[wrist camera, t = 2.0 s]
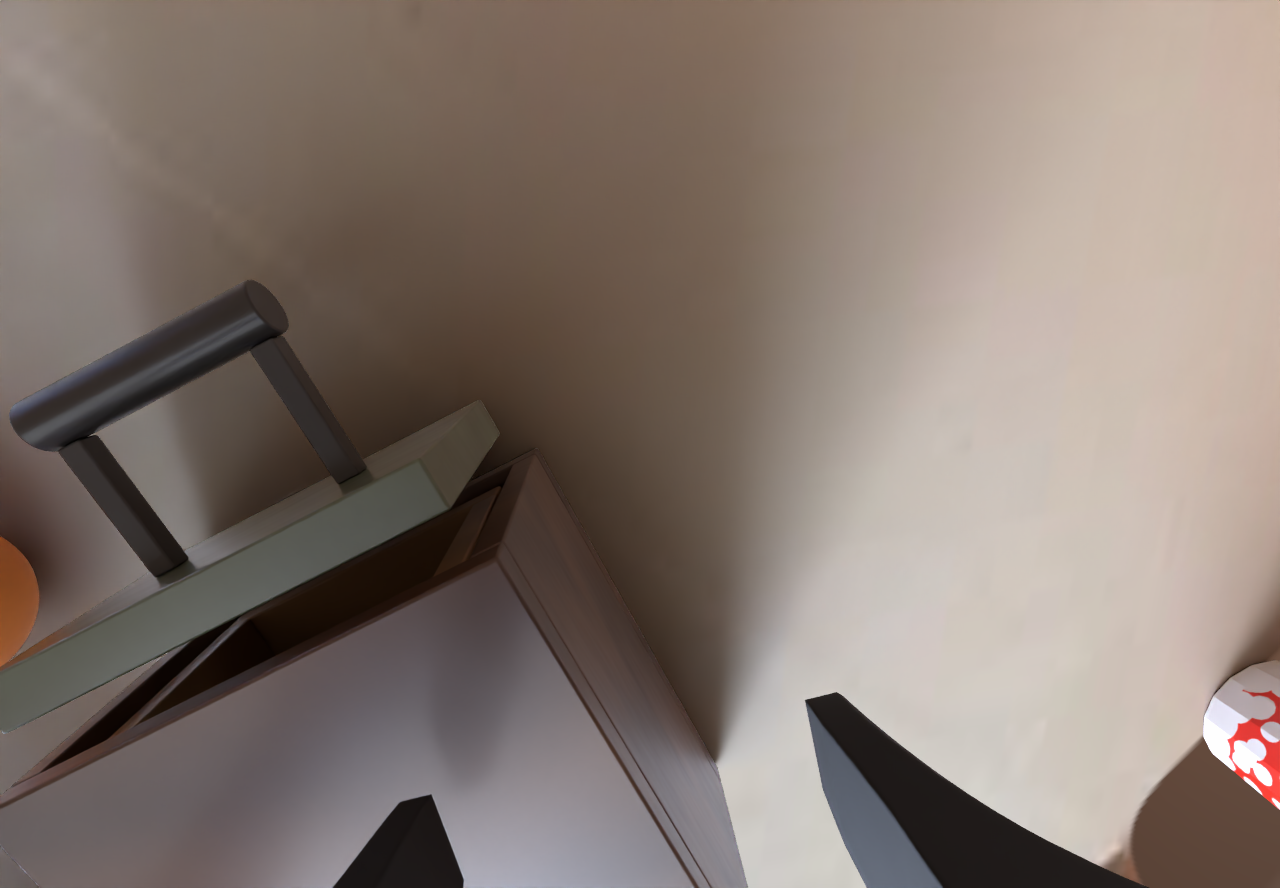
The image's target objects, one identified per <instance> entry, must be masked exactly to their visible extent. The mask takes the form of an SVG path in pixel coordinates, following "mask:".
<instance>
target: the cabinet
mask: <svg viewBox="0 0 1280 888" xmlns="http://www.w3.org/2000/svg"><path fill="white" fill-rule="evenodd" d="M499 486H500V487H501V488H502V490H501V492H500V494H499V496H498V498H497V501H496V503H495V505H494V507H493V509H492V511H491V513H490V516H489V518H488V520H487V522H486V524H485V526H484V528H483V531H482V533H481V535H480V537H479V539H478V541H477V543H476V546H475V548H474V550H473V552H472V554H471V556H470V559H468V560H466V561H464V562H462V563H460V564H458V565H456V566H454V567H452V568H450V569H448V570H446V571H444V572H442V573H440V574H438V575H436V576H434V577H432V578H430V579H428V580H426V581H424V582H422V583H420V584H418V585H416V586H414V587H412V588H410V589H408V590H406V591H404V592H402V593H400V594H398V595H396V596H394V597H392V598H390V599H388V600H386V601H384V602H382V603H380V604H378V605H376V606H374V607H372V608H370V609H368V610H366V611H364V612H362V613H360V614H358V615H356V616H354V617H352V618H350V619H348V620H346V621H344V622H342V623H340V624H338V625H336V626H334V627H332V628H330V629H328V630H326V631H324V632H322V633H320V634H318V635H316V636H314V637H312V638H310V639H308V640H306V641H304V642H302V643H300V644H298V645H296V646H294V647H292V648H290V649H288V650H286V651H284V652H282V653H280V654H278V655H276V656H274V657H272V658H270V659H268V660H266V661H264V662H262V663H260V664H258V665H256V666H254V667H252V668H250V669H248V670H246V671H244V672H242V673H240V674H238V675H236V676H234V677H232V678H230V679H228V680H226V681H224V682H222V683H220V684H218V685H216V686H214V687H212V688H210V689H208V690H206V691H204V692H202V693H200V694H198V695H196V696H194V697H192V698H190V699H188V700H186V701H184V702H182V703H180V704H178V705H176V706H174V707H172V708H170V709H168V710H166V711H164V712H162V713H160V714H158V715H156V716H154V717H152V718H150V719H148V720H146V721H144V722H142V723H140V724H138V725H136V726H134V727H132V728H130V729H128V730H126V731H124V732H122V733H120V734H118V735H116V736H114V737H112V738H110V737H111V736H112V735H113V734H114V733H115V732H116V731H117V730H118V729H119V728H120V727H121V726H123V725H124V724H125V723H126V722H127V721H128V720H129V719H130V718H131V717H132V716H133V715H134V714H136V713H137V712H138V711H139V710H140V709H141V708H142V707H143V706H144V705H145V704H146V703H147V702H149V701H150V700H151V699H152V698H153V697H154V696H155V695H156V694H157V693H158V692H159V691H160V690H162V689H163V688H164V687H165V686H166V685H167V684H168V683H169V682H170V681H171V680H172V679H173V678H174V677H176V676H177V675H178V674H179V673H180V672H181V671H182V670H183V669H184V668H185V667H186V666H187V665H189V664H190V663H191V662H192V661H193V660H194V659H195V658H196V657H197V656H198V655H199V654H200V653H202V652H203V651H204V650H205V649H206V648H207V647H208V646H209V645H210V644H211V643H212V642H213V641H215V640H216V639H217V638H218V637H219V636H220V635H221V634H222V633H223V632H224V631H225V630H226V629H228V628H229V627H230V626H231V625H232V624H233V623H234V622H235V621H236V620H238V619H239V618H240V617H241V616H242V615H241V616H239V617H237V618H235V619H233V620H231V621H229V622H227V623H225V624H223V625H221V626H219V627H217V628H215V629H213V630H211V631H209V632H207V633H205V634H203V635H201V636H199V637H197V638H195V639H193V640H191V641H189V642H187V643H185V644H183V645H181V646H179V647H177V648H176V649H174V650H172V651H170V652H168V653H167V654H166V655H164V656H163V657H162V658H161V659H160V660H159V661H157V662H156V663H155V664H154V665H153V666H152V667H150V668H149V669H148V670H147V671H146V672H145V673H143V674H142V675H141V676H140V677H139V678H138V679H136V680H135V681H134V682H133V683H132V684H130V685H129V686H128V687H127V688H126V689H125V690H123V691H122V692H121V693H120V694H119V695H118V696H116V697H115V698H114V699H113V700H112V701H111V702H109V703H108V704H107V705H106V706H105V707H103V708H102V709H101V710H100V711H99V712H98V713H96V714H95V715H94V716H93V717H92V718H91V719H89V720H88V721H87V722H86V723H85V724H84V725H82V726H81V727H80V728H79V729H78V730H76V731H75V732H74V733H73V734H72V735H71V736H69V737H68V738H67V739H66V740H65V741H64V742H62V743H61V744H60V745H59V746H58V747H57V748H55V749H54V750H53V751H52V752H51V753H49V754H48V755H47V756H46V757H45V758H44V759H42V760H41V761H40V762H39V763H38V764H37V765H35V766H34V767H33V768H32V769H31V770H30V771H28V772H27V773H26V774H25V775H24V776H22V777H21V778H20V779H19V780H18V781H17V782H15V783H14V784H13V785H12V786H11V788H10V789H8V790H6V791H5V792H4V793H3V794H2V795H1V796H0V847H1V848H2V849H3V850H4V851H5V852H6V853H7V854H8V855H9V856H10V857H11V858H12V859H13V860H14V861H15V862H16V863H17V864H18V866H19V867H20V868H21V869H22V870H23V871H24V872H25V873H26V874H27V875H28V876H29V877H30V878H31V879H32V880H33V881H34V882H35V883H36V884H37V885H38V887H39V888H333V887H334V885H335V884H336V883H337V881H338V880H339V879H340V878H341V876H342V875H343V874H344V873H345V871H346V870H347V869H348V867H349V866H350V865H351V864H352V862H353V861H354V860H355V858H356V857H357V856H358V854H359V853H360V852H361V851H362V849H363V848H364V847H365V845H366V844H367V843H368V841H369V840H370V839H371V838H372V836H373V835H374V834H375V832H376V831H377V830H378V828H379V827H380V826H381V825H382V823H383V822H384V821H385V819H386V818H387V817H388V816H389V814H390V813H391V812H392V811H393V810H394V808H395V807H396V806H397V805H398V804H399V802H402V801H406V800H410V799H414V798H418V797H422V796H426V795H429V794H432V797H433V800H434V802H435V805H436V807H437V810H438V813H439V815H440V818H441V821H442V823H443V826H444V828H445V831H446V834H447V836H448V839H449V842H450V844H451V847H452V849H453V852H454V855H455V857H456V860H457V863H458V865H459V868H460V871H461V873H462V876H463V878H464V886H463V888H748V886H747V882H746V878H745V874H744V870H743V866H742V862H741V858H740V854H739V850H738V846H737V842H736V838H735V835H734V831H733V827H732V823H731V819H730V815H729V811H728V807H727V803H726V799H725V795H724V791H723V787H722V784H721V780H720V776H719V772H718V768H717V766H716V764H715V763H714V761H713V759H712V757H711V756H710V754H709V752H708V750H707V748H706V747H705V745H704V743H703V741H702V739H701V738H700V736H699V734H698V732H697V731H696V729H695V727H694V725H693V723H692V722H691V720H690V718H689V716H688V715H687V713H686V711H685V709H684V707H683V706H682V704H681V702H680V700H679V699H678V697H677V695H676V693H675V691H674V690H673V688H672V686H671V684H670V682H669V681H668V679H667V677H666V675H665V674H664V672H663V670H662V668H661V666H660V665H659V663H658V661H657V659H656V658H655V656H654V654H653V652H652V650H651V649H650V647H649V645H648V643H647V642H646V640H645V638H644V636H643V634H642V633H641V631H640V629H639V627H638V625H637V624H636V622H635V620H634V618H633V617H632V615H631V613H630V611H629V609H628V608H627V606H626V604H625V602H624V601H623V599H622V597H621V595H620V593H619V592H618V590H617V588H616V586H615V585H614V583H613V581H612V579H611V577H610V576H609V574H608V572H607V570H606V569H605V567H604V565H603V563H602V561H601V560H600V558H599V556H598V554H597V552H596V551H595V549H594V547H593V545H592V544H591V542H590V540H589V538H588V536H587V535H586V533H585V531H584V529H583V528H582V526H581V524H580V522H579V520H578V519H577V517H576V515H575V513H574V512H573V510H572V508H571V506H570V504H569V503H568V501H567V499H566V497H565V495H564V494H563V492H562V490H561V488H560V487H559V485H558V483H557V481H556V479H555V478H554V476H553V474H552V472H551V471H550V469H549V467H548V465H547V463H546V462H545V460H544V458H543V456H542V455H541V453H540V451H539V449H537V448H536V449H533V450H531V451H529V452H527V453H525V454H523V455H521V456H519V457H518V458H516V459H514V460H512V461H510V462H508V463H506V464H504V465H502V466H500V467H498V468H496V469H494V470H492V471H490V472H488V473H486V474H484V475H482V476H480V477H478V478H476V479H474V480H472V481H470V482H468V483H467V485H466V486H465V488H464V489H463V491H462V492H461V494H460V495H459V497H458V499H457V500H456V502H455V503H454V505H453V506H452V508H451V509H450V510H452V509H454V508H456V507H458V506H460V505H462V504H464V503H466V502H468V501H470V500H472V499H474V498H476V497H478V496H480V495H482V494H484V493H486V492H488V491H490V490H492V489H494V488H496V487H499ZM450 510H449V511H450ZM447 512H448V511H447ZM445 513H446V512H445ZM443 514H444V513H443ZM441 515H442V514H441ZM439 516H440V515H439ZM437 517H438V516H437ZM435 518H436V517H435ZM433 519H434V518H433ZM431 520H432V519H431ZM429 521H430V520H429ZM427 522H428V521H427ZM425 523H426V522H425ZM423 524H424V523H423ZM423 524H421V525H423ZM421 525H419V526H421ZM419 526H417V527H419ZM417 527H415V528H417ZM415 528H413V529H415ZM413 529H411V530H413ZM411 530H409V531H411ZM409 531H407V532H409ZM407 532H405V533H407ZM405 533H403V534H405ZM403 534H401V535H403ZM401 535H399V536H401ZM399 536H397V537H399ZM397 537H395V538H397ZM395 538H393V539H395ZM393 539H391V540H393ZM391 540H389V541H391ZM389 541H387V542H389ZM387 542H385V543H387ZM385 543H383V544H385ZM383 544H382V545H383ZM380 546H381V545H380ZM378 547H379V546H378ZM376 548H377V547H376ZM374 549H375V548H374ZM372 550H373V549H372ZM370 551H371V550H370ZM368 552H369V551H368ZM366 553H367V552H366ZM364 554H365V553H364ZM362 555H363V554H362ZM360 556H361V555H360ZM358 557H359V556H358ZM356 558H357V557H356ZM354 559H355V558H354ZM352 560H353V559H352ZM350 561H351V560H350ZM348 562H349V561H348ZM346 563H347V562H346ZM344 564H345V563H344ZM342 565H343V564H342ZM340 566H341V565H340ZM338 567H339V566H338ZM336 568H337V567H336ZM334 569H335V568H334ZM332 570H333V569H332ZM330 571H331V570H330ZM328 572H329V571H328ZM326 573H327V572H326ZM324 574H325V573H324ZM322 575H323V574H322ZM320 576H321V575H320ZM318 577H319V576H318ZM318 577H316V578H318ZM316 578H314V579H316ZM314 579H312V580H314ZM312 580H310V581H312ZM310 581H308V582H310ZM308 582H306V583H308ZM306 583H304V584H306ZM304 584H302V585H304ZM302 585H300V586H302ZM300 586H298V587H300ZM298 587H296V588H298ZM296 588H294V589H296ZM294 589H292V590H294ZM292 590H290V591H292ZM290 591H288V592H290ZM288 592H286V593H288ZM286 593H284V594H286ZM284 594H282V595H284ZM282 595H280V596H282ZM280 596H279V597H280ZM277 598H278V597H277ZM275 599H276V598H275ZM273 600H274V599H273ZM271 601H272V600H271ZM269 602H270V601H269ZM267 603H268V602H267ZM265 604H266V603H265ZM263 605H264V604H263ZM261 606H262V605H261ZM259 607H260V606H259ZM257 608H258V607H257ZM255 609H256V608H255ZM253 610H254V609H253ZM251 611H252V610H251ZM249 612H250V611H249ZM247 613H248V612H247ZM245 614H246V613H245ZM243 615H244V614H243ZM109 738H110V739H109ZM107 739H108V740H107Z"/></svg>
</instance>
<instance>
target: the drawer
mask: <svg viewBox="0 0 1280 888" xmlns="http://www.w3.org/2000/svg"><path fill="white" fill-rule="evenodd" d="M288 328H289V323H288V318H287V316H286V313H285V311H284V309H283V307H282V306H281V304H280V303H279V301H278V300H277V299H276V297H275V296H274V295H273V294H272V293H271V292H270V291H269V290H268V289H267V288H266V287H265V286H263V285H262V284H261V283H259V282H257V281H254V280H246V281H244V282H242V283H240V284H239V285H237V286H235V287H233V288H231V289H229V290H227V291H225V292H224V293H222V294H220V295H218V296H216V297H214V298H212V299H210V300H209V301H207V302H205V303H203V304H201V305H199V306H197V307H195V308H193V309H192V310H190V311H188V312H186V313H184V314H182V315H180V316H178V317H177V318H175V319H173V320H171V321H169V322H167V323H165V324H163V325H162V326H160V327H158V328H156V329H154V330H152V331H150V332H148V333H147V334H145V335H143V336H141V337H139V338H137V339H135V340H133V341H132V342H130V343H128V344H126V345H124V346H122V347H120V348H118V349H117V350H115V351H113V352H111V353H109V354H107V355H105V356H103V357H102V358H100V359H98V360H96V361H94V362H92V363H90V364H88V365H86V366H85V367H83V368H81V369H79V370H77V371H75V372H73V373H71V374H70V375H68V376H66V377H64V378H62V379H60V380H58V381H56V382H55V383H53V384H51V385H49V386H47V387H45V388H43V389H41V390H40V391H38V392H36V393H34V394H32V395H30V396H28V397H26V398H25V399H23V400H21V401H19V402H17V403H16V404H14V405H13V406H12V408H11V410H10V413H9V419H10V423H11V426H12V427H13V429H14V431H15V432H16V433H17V435H18V436H19V437H20V438H21V439H22V440H24V441H25V442H26V443H28V444H29V445H31V446H33V447H35V448H37V449H40V450H43V451H51V452H53V451H58V452H59V454H60V455H61V457H62V458H63V459H64V461H65V462H66V463H67V464H68V466H69V467H70V468H71V470H72V471H73V472H74V474H75V475H76V476H77V477H78V479H79V480H80V481H81V483H82V484H83V485H84V487H85V488H86V489H87V491H88V492H89V493H90V494H91V496H92V497H93V498H94V500H95V501H96V502H97V504H98V505H99V506H100V507H101V509H102V510H103V511H104V513H105V514H106V515H107V517H108V518H109V519H110V520H111V522H112V523H113V524H114V526H115V527H116V528H117V530H118V531H119V532H120V534H121V535H122V536H123V537H124V539H125V540H126V541H127V543H128V544H129V545H130V547H131V548H132V549H133V550H134V552H135V553H136V554H137V556H138V557H139V558H140V560H141V561H142V562H143V563H144V565H145V566H146V567H147V569H148V570H149V571H150V572H149V573H147V574H146V575H144V576H142V577H141V578H139V579H138V580H136V581H135V582H133V583H131V584H130V585H128V586H127V587H125V588H124V589H122V590H120V591H119V592H117V593H116V594H114V595H113V596H111V597H109V598H108V599H106V600H105V601H103V602H102V603H100V604H98V605H97V606H95V607H94V608H92V609H91V610H89V611H87V612H86V613H84V614H83V615H81V616H80V617H78V618H76V619H75V620H73V621H72V622H70V623H69V624H67V625H65V626H64V627H62V628H61V629H59V630H58V631H56V632H54V633H53V634H51V635H50V636H48V637H47V638H45V639H43V640H42V641H40V642H39V643H37V644H36V645H34V646H32V647H31V648H29V649H28V650H26V651H25V652H23V653H21V654H20V655H18V656H17V657H15V658H14V659H12V660H10V661H9V662H7V663H6V664H4V665H3V666H1V667H0V730H1V732H2V733H4V734H5V733H9V732H11V731H13V730H15V729H17V728H19V727H21V726H23V725H25V724H27V723H29V722H31V721H33V720H35V719H37V718H39V717H41V716H43V715H45V714H47V713H49V712H51V711H53V710H55V709H57V708H59V707H61V706H63V705H65V704H67V703H69V702H71V701H73V700H74V699H76V698H78V697H80V696H82V695H84V694H86V693H88V692H90V691H92V690H94V689H96V688H98V687H100V686H102V685H104V684H106V683H108V682H110V681H112V680H114V679H116V678H118V677H120V676H122V675H124V674H126V673H128V672H130V671H132V670H134V669H136V668H138V667H140V666H142V665H144V664H146V663H148V662H150V661H152V660H154V659H156V658H158V657H160V656H162V655H164V654H166V653H168V652H170V651H172V650H174V649H176V648H177V647H179V646H181V645H183V644H185V643H187V642H189V641H191V640H193V639H195V638H197V637H199V636H201V635H203V634H205V633H207V632H209V631H211V630H213V629H215V628H217V627H219V626H221V625H223V624H225V623H227V622H229V621H231V620H233V619H235V618H237V617H239V616H241V615H242V616H241V617H240V618H239V619H238V620H236V621H235V622H234V623H233V624H232V625H231V626H230V627H229V628H228V629H226V630H225V631H224V632H223V633H222V634H221V635H220V636H219V637H218V638H217V639H216V640H215V641H213V642H212V643H211V644H210V645H209V646H208V647H207V648H206V649H205V650H204V651H203V652H202V653H200V654H199V655H198V656H197V657H196V658H195V659H194V660H193V661H192V662H191V663H190V664H189V665H187V666H186V667H185V668H184V669H183V670H182V671H181V672H180V673H179V674H178V675H177V676H176V677H174V678H173V679H172V680H171V681H170V682H169V683H168V684H167V685H166V686H165V687H164V688H163V689H162V690H160V691H159V692H158V693H157V694H156V695H155V696H154V697H153V698H152V699H151V700H150V701H149V702H147V703H146V704H145V705H144V706H143V707H142V708H141V709H140V710H139V711H138V712H137V713H136V714H134V715H133V716H132V717H131V718H130V719H129V720H128V721H127V722H126V723H125V724H124V725H123V726H121V727H120V728H119V729H118V730H117V731H116V732H115V733H114V734H113V735H112V736H111V737H110V738H112V737H114V736H116V735H118V734H120V733H122V732H124V731H126V730H128V729H130V728H132V727H134V726H136V725H138V724H140V723H142V722H144V721H146V720H148V719H150V718H152V717H154V716H156V715H158V714H160V713H162V712H164V711H166V710H168V709H170V708H172V707H174V706H176V705H178V704H180V703H182V702H184V701H186V700H188V699H190V698H192V697H194V696H196V695H198V694H200V693H202V692H204V691H206V690H208V689H210V688H212V687H214V686H216V685H218V684H220V683H222V682H224V681H226V680H228V679H230V678H232V677H234V676H236V675H238V674H240V673H242V672H244V671H246V670H248V669H250V668H252V667H254V666H256V665H258V664H260V663H262V662H264V661H266V660H268V659H270V658H272V657H274V656H276V655H278V654H280V653H282V652H284V651H286V650H288V649H290V648H292V647H294V646H296V645H298V644H300V643H302V642H304V641H306V640H308V639H310V638H312V637H314V636H316V635H318V634H320V633H322V632H324V631H326V630H328V629H330V628H332V627H334V626H336V625H338V624H340V623H342V622H344V621H346V620H348V619H350V618H352V617H354V616H356V615H358V614H360V613H362V612H364V611H366V610H368V609H370V608H372V607H374V606H376V605H378V604H380V603H382V602H384V601H386V600H388V599H390V598H392V597H394V596H396V595H398V594H400V593H402V592H404V591H406V590H408V589H410V588H412V587H414V586H416V585H418V584H420V583H422V582H424V581H426V580H428V579H430V578H432V577H434V576H436V575H438V574H440V573H442V572H444V571H446V570H448V569H450V568H452V567H454V566H456V565H458V564H460V563H462V562H464V561H466V560H468V559H470V556H471V554H472V552H473V550H474V548H475V546H476V543H477V541H478V539H479V537H480V535H481V533H482V531H483V528H484V526H485V524H486V522H487V520H488V518H489V516H490V513H491V511H492V509H493V507H494V505H495V503H496V501H497V498H498V496H499V494H500V492H501V490H502V488H501V487H500V486H499V487H496V488H494V489H492V490H490V491H488V492H486V493H484V494H482V495H480V496H478V497H476V498H474V499H472V500H470V501H468V502H466V503H464V504H462V505H460V506H458V507H456V508H454V509H452V510H450V509H451V508H452V506H453V505H454V503H455V502H456V500H457V499H458V497H459V495H460V494H461V492H462V491H463V489H464V488H465V486H466V485H467V483H468V482H469V480H470V479H471V477H472V476H473V474H474V473H475V471H476V470H477V468H478V467H479V465H480V463H481V462H482V460H483V459H484V457H485V456H486V454H487V453H488V451H489V450H490V448H491V447H492V445H493V444H494V442H495V441H496V439H497V438H498V436H499V435H500V433H499V431H498V429H497V427H496V425H495V424H494V422H493V420H492V419H491V417H490V415H489V413H488V412H487V410H486V408H485V406H484V405H483V403H482V401H481V400H477V401H475V402H473V403H472V404H470V405H468V406H466V407H464V408H462V409H460V410H458V411H456V412H454V413H452V414H450V415H448V416H446V417H444V418H442V419H440V420H438V421H436V422H434V423H433V424H431V425H429V426H427V427H425V428H423V429H421V430H419V431H417V432H415V433H413V434H411V435H409V436H407V437H405V438H403V439H401V440H399V441H397V442H395V443H394V444H392V445H390V446H388V447H386V448H384V449H382V450H380V451H378V452H376V453H374V454H372V455H370V456H368V457H366V458H364V459H362V458H361V457H360V455H359V454H358V452H357V450H356V449H355V447H354V446H353V444H352V443H351V441H350V439H349V438H348V436H347V435H346V433H345V432H344V430H343V429H342V427H341V425H340V424H339V422H338V421H337V419H336V418H335V416H334V414H333V413H332V411H331V410H330V408H329V407H328V405H327V404H326V402H325V400H324V399H323V397H322V396H321V394H320V393H319V391H318V389H317V388H316V386H315V385H314V383H313V382H312V380H311V379H310V377H309V375H308V374H307V372H306V371H305V369H304V368H303V366H302V364H301V363H300V361H299V360H298V358H297V357H296V355H295V353H294V352H293V350H292V349H291V347H290V346H289V344H288V343H287V341H286V339H285V338H284V337H283V336H280V335H282V334H283V333H285V332H286V331H287V330H288ZM278 336H280V337H278ZM249 351H250V352H251V354H252V355H253V357H254V358H255V360H256V361H257V363H258V364H259V366H260V367H261V369H262V370H263V372H264V373H265V375H266V376H267V378H268V379H269V381H270V382H271V384H272V385H273V387H274V389H275V390H276V392H277V393H278V395H279V396H280V398H281V399H282V401H283V402H284V404H285V405H286V407H287V408H288V410H289V411H290V413H291V414H292V416H293V417H294V419H295V420H296V422H297V424H298V425H299V427H300V428H301V430H302V431H303V433H304V434H305V436H306V437H307V439H308V440H309V442H310V443H311V445H312V446H313V448H314V449H315V451H316V452H317V454H318V455H319V457H320V459H321V460H322V462H323V463H324V465H325V466H326V468H327V469H328V471H329V472H330V474H331V476H329V477H327V478H325V479H323V480H321V481H319V482H317V483H316V484H314V485H312V486H310V487H308V488H306V489H304V490H302V491H300V492H298V493H296V494H294V495H292V496H290V497H288V498H286V499H284V500H282V501H280V502H278V503H276V504H275V505H273V506H271V507H269V508H267V509H265V510H263V511H261V512H259V513H257V514H255V515H253V516H251V517H249V518H247V519H245V520H243V521H241V522H239V523H237V524H236V525H234V526H232V527H230V528H228V529H226V530H224V531H222V532H220V533H218V534H216V535H214V536H212V537H210V538H208V539H206V540H204V541H202V542H200V543H198V544H197V545H195V546H193V547H191V548H189V549H187V550H185V551H184V550H183V549H182V548H181V546H180V545H179V544H178V542H177V541H176V540H175V538H174V537H173V536H172V534H171V533H170V532H169V530H168V529H167V528H166V526H165V525H164V524H163V522H162V521H161V520H160V518H159V517H158V516H157V514H156V513H155V512H154V510H153V509H152V508H151V506H150V505H149V504H148V502H147V501H146V499H145V498H144V497H143V495H142V494H141V493H140V491H139V490H138V489H137V487H136V486H135V485H134V483H133V482H132V481H131V479H130V478H129V477H128V475H127V474H126V473H125V471H124V470H123V469H122V467H121V466H120V465H119V463H118V462H117V461H116V459H115V458H114V457H113V455H112V454H111V453H110V451H109V450H108V448H107V447H106V446H105V444H104V443H103V442H102V440H101V439H100V438H99V436H97V435H92V434H94V433H95V432H97V431H99V430H101V429H103V428H105V427H107V426H109V425H111V424H113V423H114V422H116V421H118V420H120V419H122V418H124V417H126V416H128V415H130V414H132V413H133V412H135V411H137V410H139V409H141V408H143V407H145V406H147V405H149V404H151V403H152V402H154V401H156V400H158V399H160V398H162V397H164V396H166V395H168V394H170V393H171V392H173V391H175V390H177V389H179V388H181V387H183V386H185V385H187V384H188V383H190V382H192V381H194V380H196V379H198V378H200V377H202V376H204V375H206V374H207V373H209V372H211V371H213V370H215V369H217V368H219V367H221V366H223V365H225V364H226V363H228V362H230V361H232V360H234V359H236V358H238V357H240V356H242V355H244V354H245V353H247V352H249ZM90 435H92V436H90ZM449 510H450V511H449ZM447 511H448V512H447ZM445 512H446V513H445ZM443 513H444V514H443ZM441 514H442V515H441ZM439 515H440V516H439ZM437 516H438V517H437ZM435 517H436V518H435ZM433 518H434V519H433ZM431 519H432V520H431ZM429 520H430V521H429ZM427 521H428V522H427ZM425 522H426V523H425ZM423 523H424V524H423ZM421 524H423V525H421ZM419 525H421V526H419ZM417 526H419V527H417ZM415 527H417V528H415ZM413 528H415V529H413ZM411 529H413V530H411ZM409 530H411V531H409ZM407 531H409V532H407ZM405 532H407V533H405ZM403 533H405V534H403ZM401 534H403V535H401ZM399 535H401V536H399ZM397 536H399V537H397ZM395 537H397V538H395ZM393 538H395V539H393ZM391 539H393V540H391ZM389 540H391V541H389ZM387 541H389V542H387ZM385 542H387V543H385ZM383 543H385V544H383ZM382 544H383V545H382ZM380 545H381V546H380ZM378 546H379V547H378ZM376 547H377V548H376ZM374 548H375V549H374ZM372 549H373V550H372ZM370 550H371V551H370ZM368 551H369V552H368ZM366 552H367V553H366ZM364 553H365V554H364ZM362 554H363V555H362ZM360 555H361V556H360ZM358 556H359V557H358ZM356 557H357V558H356ZM354 558H355V559H354ZM352 559H353V560H352ZM350 560H351V561H350ZM348 561H349V562H348ZM346 562H347V563H346ZM344 563H345V564H344ZM342 564H343V565H342ZM340 565H341V566H340ZM338 566H339V567H338ZM336 567H337V568H336ZM334 568H335V569H334ZM332 569H333V570H332ZM330 570H331V571H330ZM328 571H329V572H328ZM326 572H327V573H326ZM324 573H325V574H324ZM322 574H323V575H322ZM320 575H321V576H320ZM318 576H319V577H318ZM316 577H318V578H316ZM314 578H316V579H314ZM312 579H314V580H312ZM310 580H312V581H310ZM308 581H310V582H308ZM306 582H308V583H306ZM304 583H306V584H304ZM302 584H304V585H302ZM300 585H302V586H300ZM298 586H300V587H298ZM296 587H298V588H296ZM294 588H296V589H294ZM292 589H294V590H292ZM290 590H292V591H290ZM288 591H290V592H288ZM286 592H288V593H286ZM284 593H286V594H284ZM282 594H284V595H282ZM280 595H282V596H280ZM279 596H280V597H279ZM277 597H278V598H277ZM275 598H276V599H275ZM273 599H274V600H273ZM271 600H272V601H271ZM269 601H270V602H269ZM267 602H268V603H267ZM265 603H266V604H265ZM263 604H264V605H263ZM261 605H262V606H261ZM259 606H260V607H259ZM257 607H258V608H257ZM255 608H256V609H255ZM253 609H254V610H253ZM251 610H252V611H251ZM249 611H250V612H249ZM247 612H248V613H247ZM245 613H246V614H245ZM243 614H244V615H243ZM110 738H109V739H110ZM107 740H108V739H107Z"/></svg>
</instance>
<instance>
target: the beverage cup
mask: <svg viewBox="0 0 1280 888" xmlns="http://www.w3.org/2000/svg"><path fill="white" fill-rule="evenodd" d="M1204 738H1205V740H1206V742H1207V743H1208V746H1209V748H1210V750H1211V752H1212V753H1213V754H1214V755H1215V756H1216V757H1217V758H1219V759H1220V760H1221V761H1222V762H1223V763H1225V764H1226V765H1227V766H1228V767H1229V768H1231V769H1232V770H1233V771H1234V772H1235V773H1237V774H1238V775H1239V776H1240V777H1241V778H1242V779H1244V780H1245V781H1246V782H1247V783H1248V784H1250V785H1251V786H1252V787H1253V788H1254V789H1256V790H1257V791H1258V792H1259V793H1261V794H1262V795H1263V796H1264V797H1265V798H1266V799H1267V800H1269V801H1270V802H1271V803H1272V804H1273V805H1275V806H1276V807H1277V808H1278V809H1279V810H1280V661H1277V660H1273V661H1269V662H1264V663H1260V664H1255V665H1251V666H1249V667H1248V668H1246V669H1244V670H1243V671H1241V672H1239V673H1238V674H1236V675H1234V676H1232V677H1231V678H1229V680H1228V681H1227V682H1226V683H1225V684H1224V685H1223V686H1222V687H1221V688H1220V689H1219V690H1218V691H1217V693H1216V694H1215V695H1214V696H1213V698H1212V700H1211V702H1210V705H1209V707H1208V709H1207V711H1206V714H1205V716H1204Z"/></svg>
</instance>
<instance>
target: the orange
mask: <svg viewBox="0 0 1280 888" xmlns="http://www.w3.org/2000/svg"><path fill="white" fill-rule="evenodd" d="M38 608H39V587H38V583H37V579H36V576H35V573H34V571H33V569H32V567H31V565H30V563H29V562H28V560H27V559H26V558H25V556H24V555H23V554H22V553H21V552H20V551H19V550H18V549H17V548H16V547H15V546H14V545H13V544H11V543H10V542H9V541H7V540H6V539H4V538H3V537H1V536H0V667H1V666H3V665H4V664H6V663H7V662H8V661H9V660H11V659H12V657H13V656H14V655H15V654H16V653H17V652H18V651H19V649H20V648H21V646H22V645H23V644H24V642H25V641H26V639H27V638H28V636H29V634H30V632H31V630H32V628H33V625H34V623H35V621H36V617H37V613H38Z"/></svg>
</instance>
